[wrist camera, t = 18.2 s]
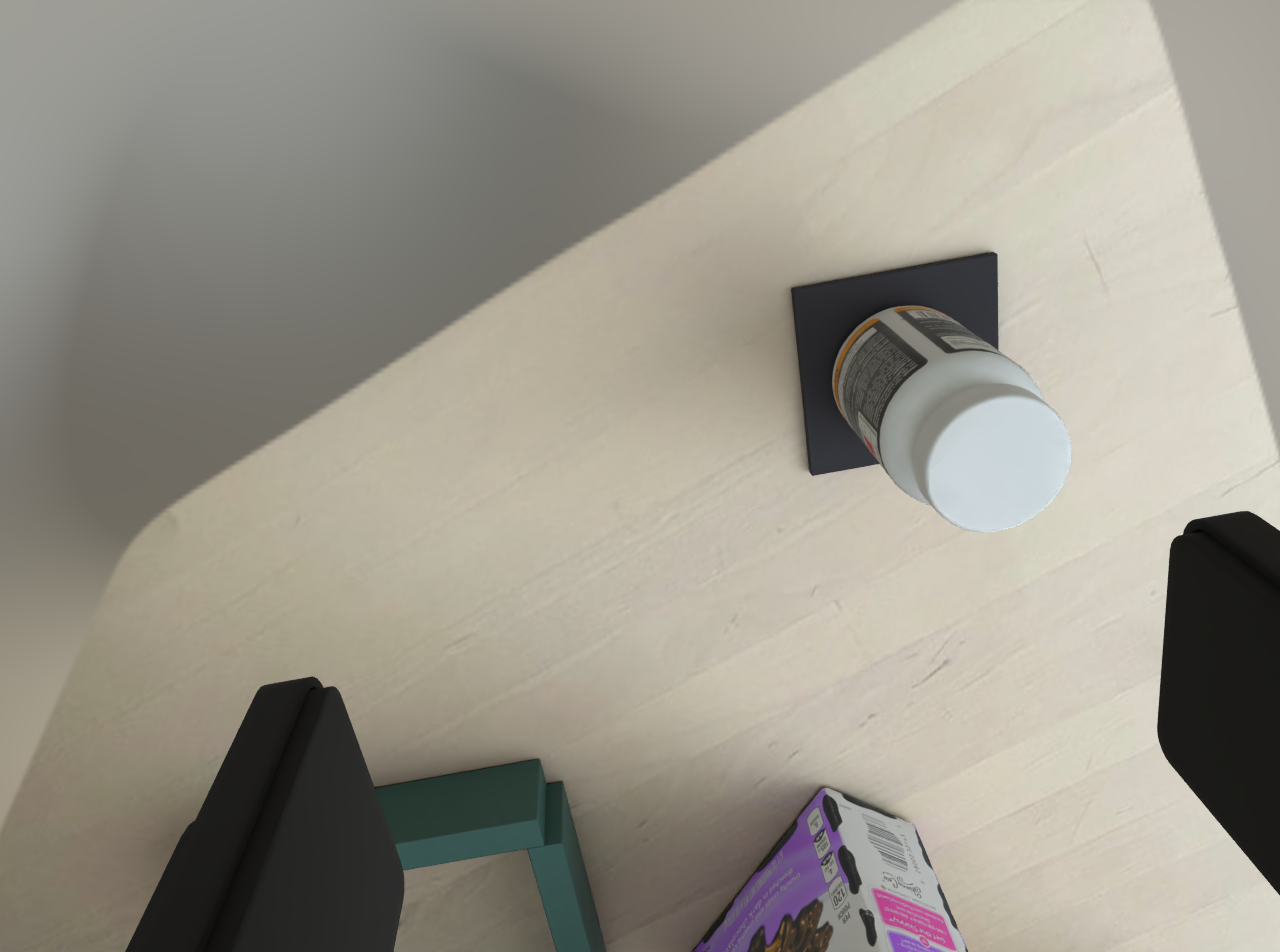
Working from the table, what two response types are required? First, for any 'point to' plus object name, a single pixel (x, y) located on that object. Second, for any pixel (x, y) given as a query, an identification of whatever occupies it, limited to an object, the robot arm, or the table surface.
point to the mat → (849, 302)
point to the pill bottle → (951, 418)
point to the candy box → (841, 889)
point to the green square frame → (500, 836)
